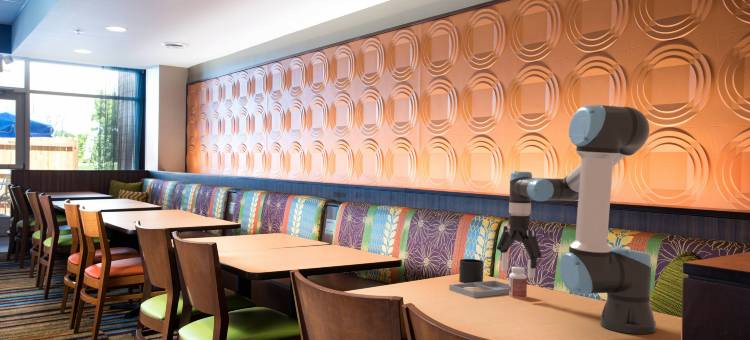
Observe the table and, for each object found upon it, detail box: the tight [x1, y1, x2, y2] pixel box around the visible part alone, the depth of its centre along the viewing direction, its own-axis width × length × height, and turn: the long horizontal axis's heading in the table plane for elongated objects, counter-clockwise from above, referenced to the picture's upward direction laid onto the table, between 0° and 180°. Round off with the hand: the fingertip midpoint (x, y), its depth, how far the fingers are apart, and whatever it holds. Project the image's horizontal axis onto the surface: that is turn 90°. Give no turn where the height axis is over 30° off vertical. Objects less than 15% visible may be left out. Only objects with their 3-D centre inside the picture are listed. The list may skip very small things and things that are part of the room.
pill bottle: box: [508, 265, 528, 300], centre depth 210 cm, size 6×6×11 cm
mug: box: [458, 258, 485, 284], centre depth 237 cm, size 9×12×9 cm
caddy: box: [448, 280, 509, 299], centre depth 218 cm, size 14×22×2 cm, turn 120°
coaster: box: [463, 287, 484, 292], centre depth 215 cm, size 8×8×1 cm
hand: (517, 273), depth 210 cm, fingers open, 13 cm apart
